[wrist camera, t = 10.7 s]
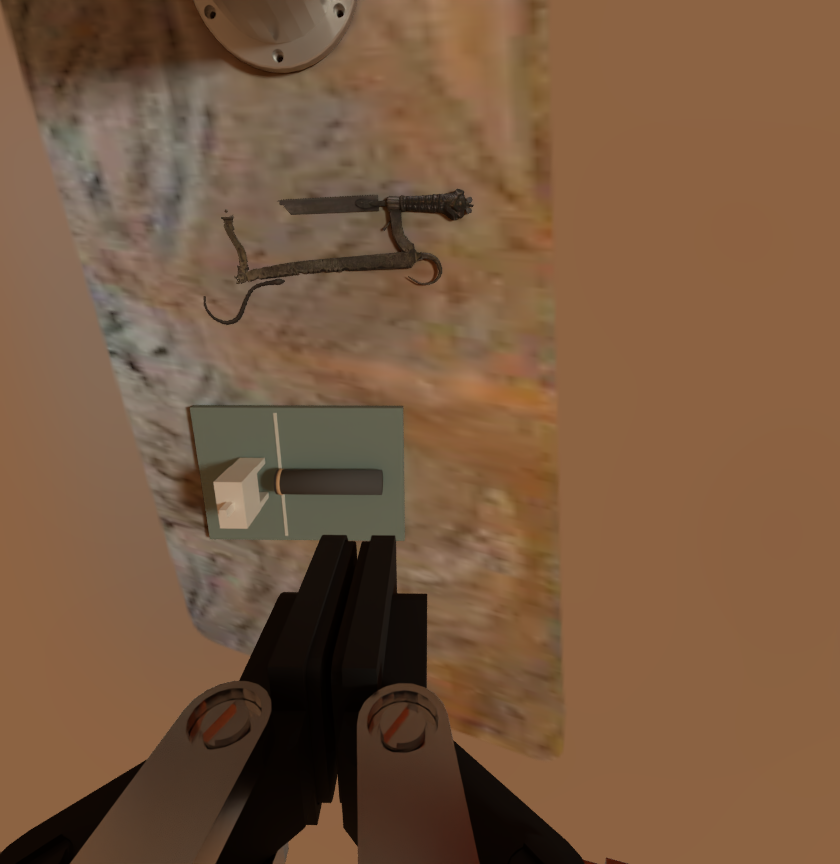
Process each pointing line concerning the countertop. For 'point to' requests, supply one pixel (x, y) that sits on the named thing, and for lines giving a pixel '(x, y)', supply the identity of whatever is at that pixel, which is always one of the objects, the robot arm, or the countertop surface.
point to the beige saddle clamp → (239, 494)
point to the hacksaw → (440, 203)
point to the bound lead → (328, 482)
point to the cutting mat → (305, 466)
